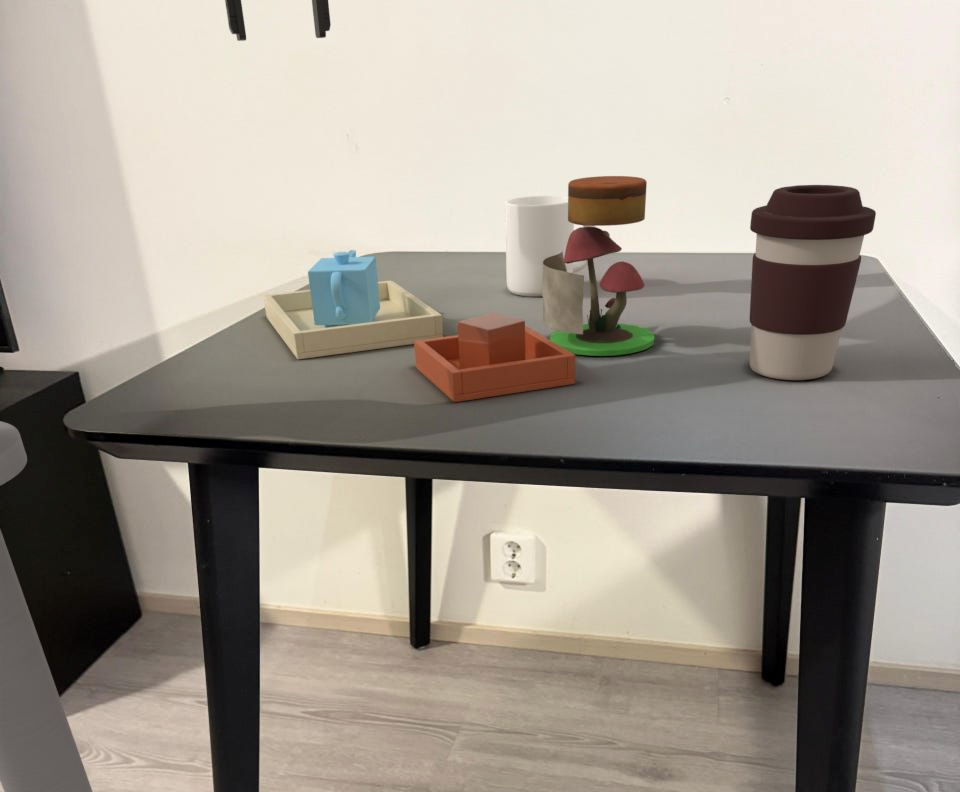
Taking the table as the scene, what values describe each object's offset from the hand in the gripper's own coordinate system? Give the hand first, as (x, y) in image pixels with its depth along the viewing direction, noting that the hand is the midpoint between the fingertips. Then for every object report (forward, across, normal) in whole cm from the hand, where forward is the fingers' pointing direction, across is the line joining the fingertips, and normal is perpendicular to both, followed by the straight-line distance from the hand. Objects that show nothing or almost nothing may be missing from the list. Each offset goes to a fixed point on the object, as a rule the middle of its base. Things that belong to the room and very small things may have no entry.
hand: (281, 39), depth 99 cm
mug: (+28, -29, +6) cm, 41 cm away
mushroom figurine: (+28, -23, +31) cm, 48 cm away
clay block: (+27, -9, +37) cm, 47 cm away
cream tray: (+28, -1, +13) cm, 31 cm away
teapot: (+27, -1, +13) cm, 30 cm away
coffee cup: (+28, -34, +48) cm, 65 cm away
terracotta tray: (+28, -9, +37) cm, 47 cm away
